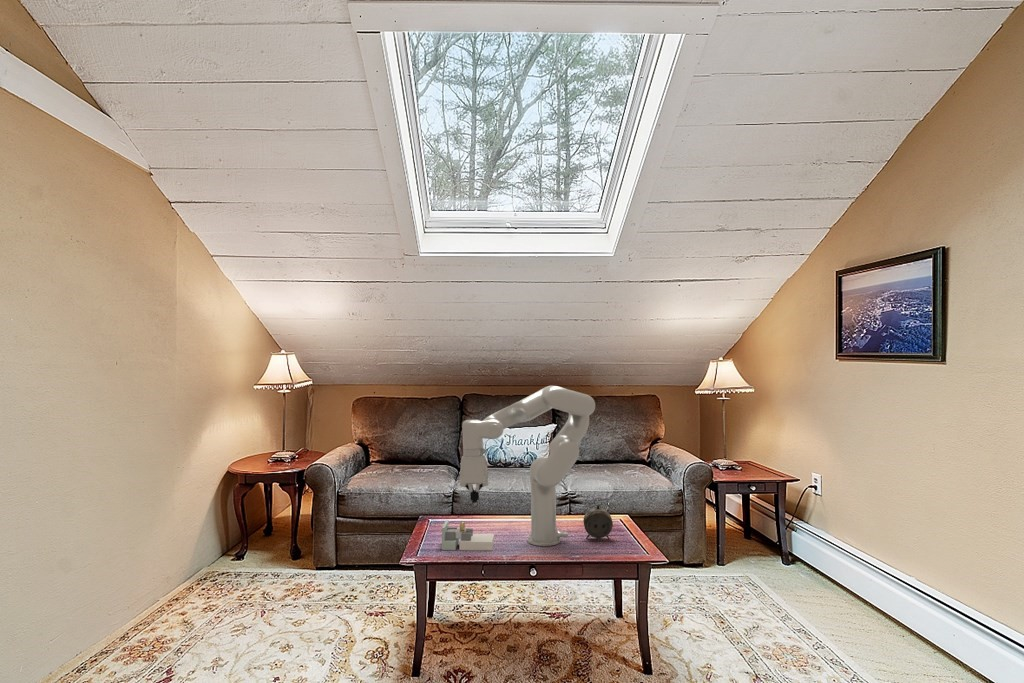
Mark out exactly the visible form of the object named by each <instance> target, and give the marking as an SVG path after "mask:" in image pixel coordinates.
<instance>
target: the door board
mask: <svg viewBox="0 0 1024 683" xmlns="http://www.w3.org/2000/svg"><path fill="white" fill-rule="evenodd" d="M465 529H467V533H461V539H459V543H458V545H459V551H493V548H494V544H495V534H494V533H474V532H473V531H474V528H466V527H465Z"/></svg>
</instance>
